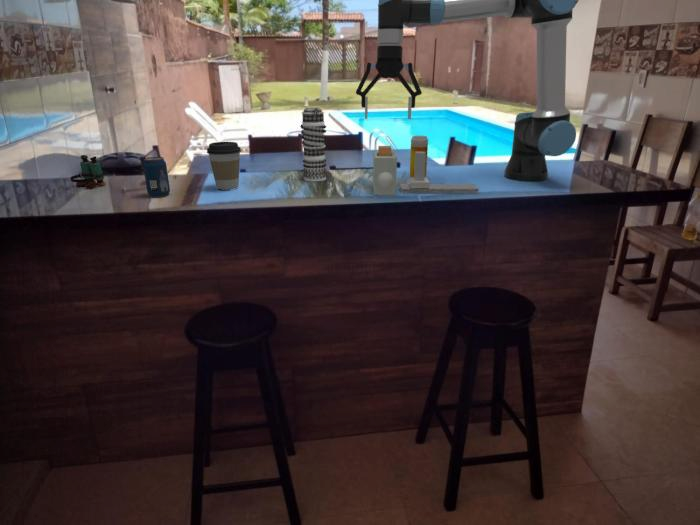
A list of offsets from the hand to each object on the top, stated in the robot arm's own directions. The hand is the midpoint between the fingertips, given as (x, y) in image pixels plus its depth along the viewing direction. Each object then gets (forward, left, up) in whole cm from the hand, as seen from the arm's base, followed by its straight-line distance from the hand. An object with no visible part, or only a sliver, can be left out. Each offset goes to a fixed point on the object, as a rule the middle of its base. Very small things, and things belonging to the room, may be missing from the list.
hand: (387, 118), depth 157 cm
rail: (-17, 0, -23) cm, 29 cm away
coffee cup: (+54, -5, -24) cm, 59 cm away
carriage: (-11, 0, -22) cm, 24 cm away
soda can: (+74, +5, -24) cm, 78 cm away
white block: (+1, 0, -23) cm, 23 cm away
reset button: (+1, 0, -14) cm, 14 cm away
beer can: (-13, -20, -24) cm, 33 cm away
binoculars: (+103, -7, -24) cm, 106 cm away
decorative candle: (+25, -19, -24) cm, 39 cm away
